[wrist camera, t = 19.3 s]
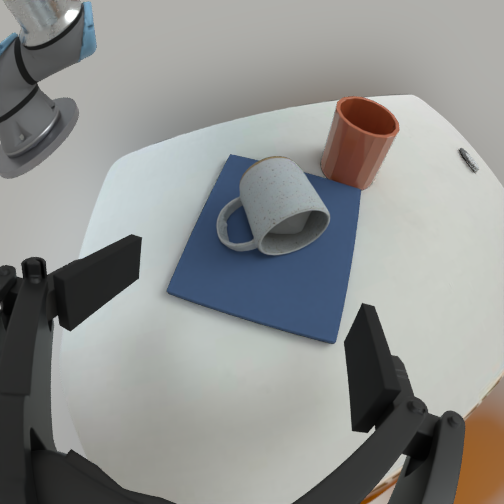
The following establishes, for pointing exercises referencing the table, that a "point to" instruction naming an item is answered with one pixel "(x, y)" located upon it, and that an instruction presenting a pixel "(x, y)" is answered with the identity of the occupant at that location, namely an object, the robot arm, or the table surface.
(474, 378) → the table surface
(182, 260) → the blue mat
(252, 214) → the ceramic mug
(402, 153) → the table surface
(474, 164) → the oval pebble
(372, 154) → the clay cup
